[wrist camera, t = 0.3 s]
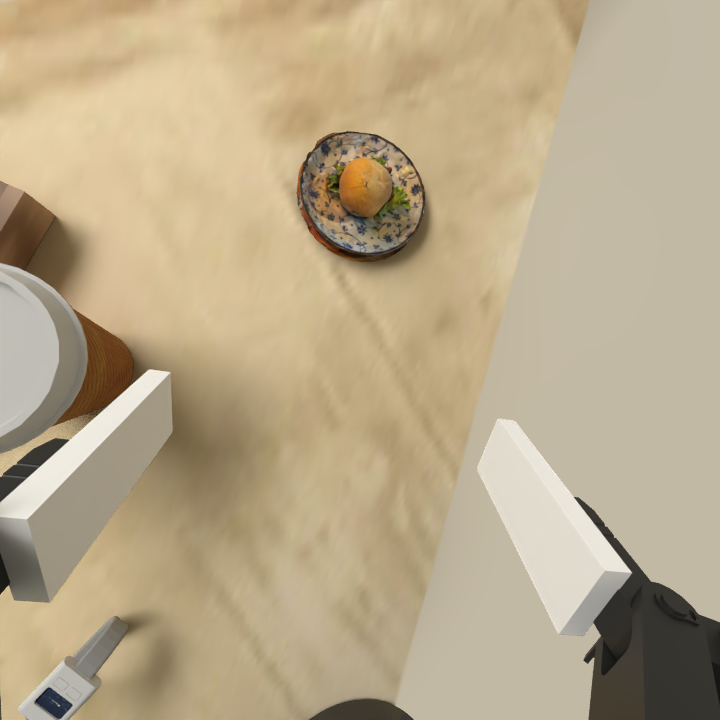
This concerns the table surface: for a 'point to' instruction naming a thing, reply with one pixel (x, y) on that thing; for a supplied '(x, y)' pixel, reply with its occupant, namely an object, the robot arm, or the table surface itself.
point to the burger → (360, 195)
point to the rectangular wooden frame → (20, 226)
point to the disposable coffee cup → (51, 360)
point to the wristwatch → (74, 677)
